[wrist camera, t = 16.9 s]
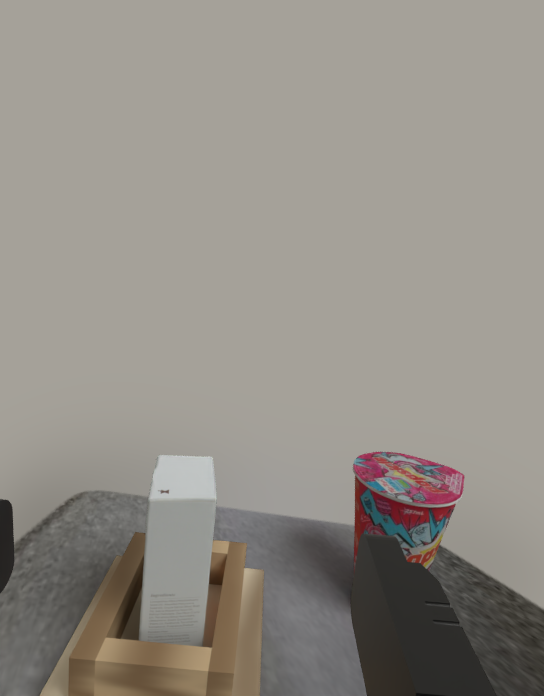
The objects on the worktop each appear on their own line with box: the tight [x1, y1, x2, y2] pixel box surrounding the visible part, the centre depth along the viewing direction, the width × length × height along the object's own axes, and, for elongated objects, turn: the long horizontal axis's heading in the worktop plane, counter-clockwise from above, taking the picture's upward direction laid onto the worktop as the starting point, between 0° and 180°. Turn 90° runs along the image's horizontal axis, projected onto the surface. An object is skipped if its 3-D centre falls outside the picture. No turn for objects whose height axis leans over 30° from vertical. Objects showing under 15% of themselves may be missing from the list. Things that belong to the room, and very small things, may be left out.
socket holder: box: [40, 532, 264, 696], centre depth 30 cm, size 13×13×4 cm
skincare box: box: [139, 455, 217, 647], centre depth 29 cm, size 6×4×12 cm
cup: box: [353, 452, 464, 578], centre depth 35 cm, size 9×8×12 cm
